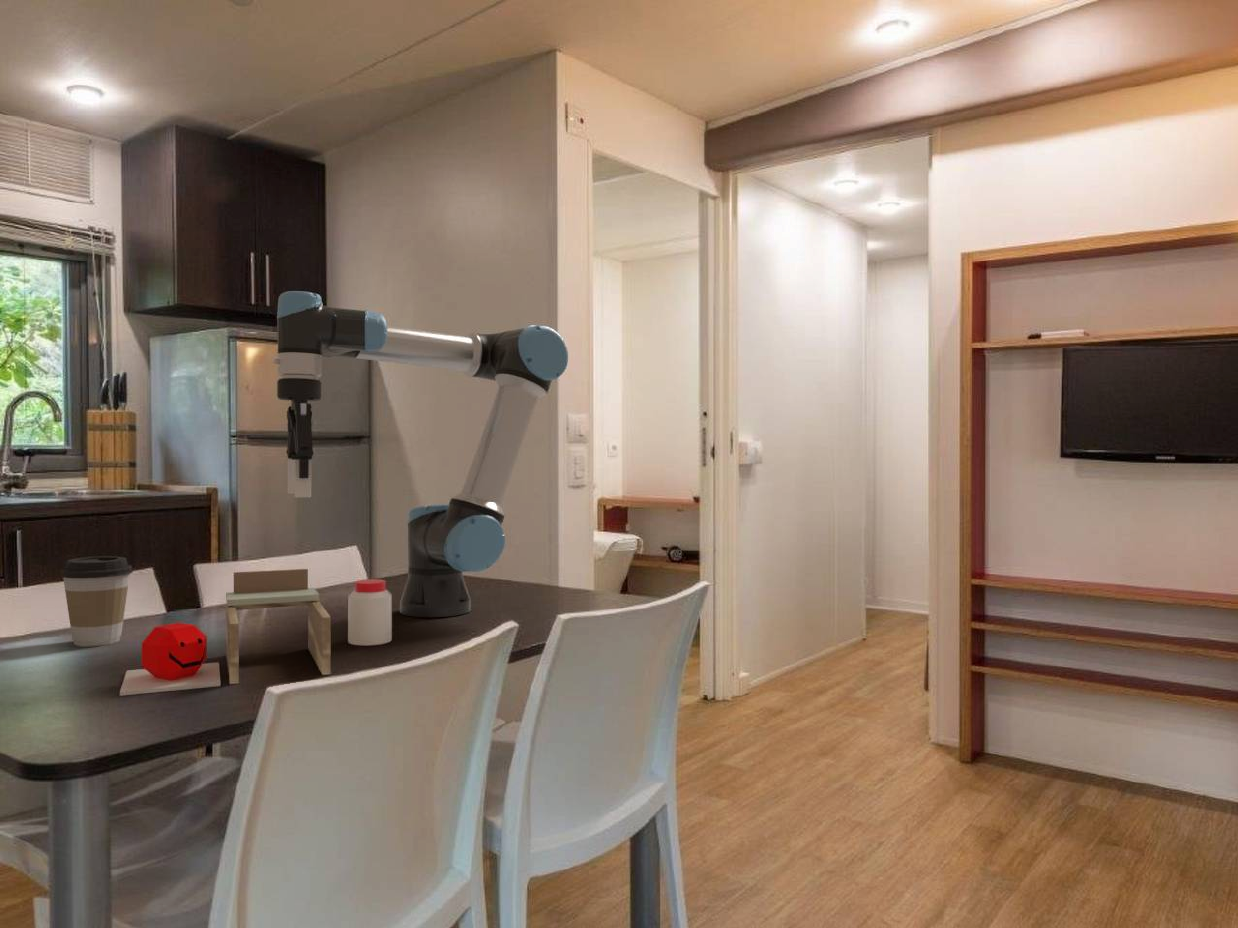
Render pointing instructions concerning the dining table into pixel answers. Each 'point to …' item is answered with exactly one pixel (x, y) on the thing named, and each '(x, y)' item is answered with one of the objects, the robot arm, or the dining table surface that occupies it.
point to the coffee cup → (96, 598)
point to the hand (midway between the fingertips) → (299, 495)
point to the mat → (147, 683)
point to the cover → (271, 587)
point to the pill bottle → (370, 613)
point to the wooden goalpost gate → (316, 635)
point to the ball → (174, 651)
